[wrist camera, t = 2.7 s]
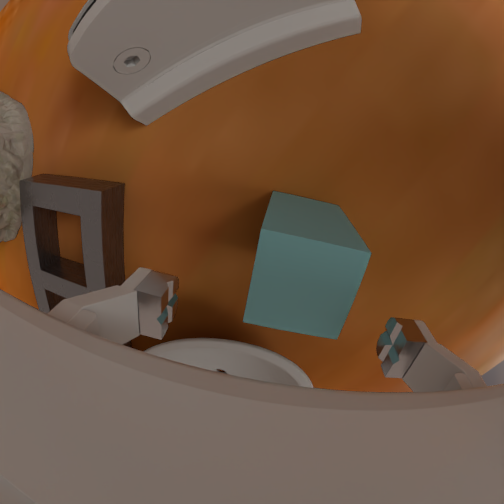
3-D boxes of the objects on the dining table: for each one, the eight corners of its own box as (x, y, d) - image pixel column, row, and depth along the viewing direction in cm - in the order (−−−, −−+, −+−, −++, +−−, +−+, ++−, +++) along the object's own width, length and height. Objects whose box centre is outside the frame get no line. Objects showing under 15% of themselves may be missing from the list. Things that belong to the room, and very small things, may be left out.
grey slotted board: (124, 183, 19) (101, 191, 16) (140, 399, 29) (131, 416, 26) (42, 173, 19) (19, 180, 16) (77, 371, 30) (67, 385, 27)
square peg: (338, 205, 17) (371, 253, 10) (321, 265, 19) (337, 339, 12) (273, 190, 18) (261, 228, 10) (260, 252, 19) (242, 321, 12)
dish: (245, 261, 20) (232, 298, 15) (342, 375, 23) (348, 417, 19) (118, 347, 26) (96, 379, 21) (209, 423, 29) (199, 455, 24)
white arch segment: (142, 128, 17) (27, 79, 7) (132, 83, 17) (37, 30, 7) (365, 32, 12) (370, -85, 3) (330, -6, 13) (314, -107, 3)
